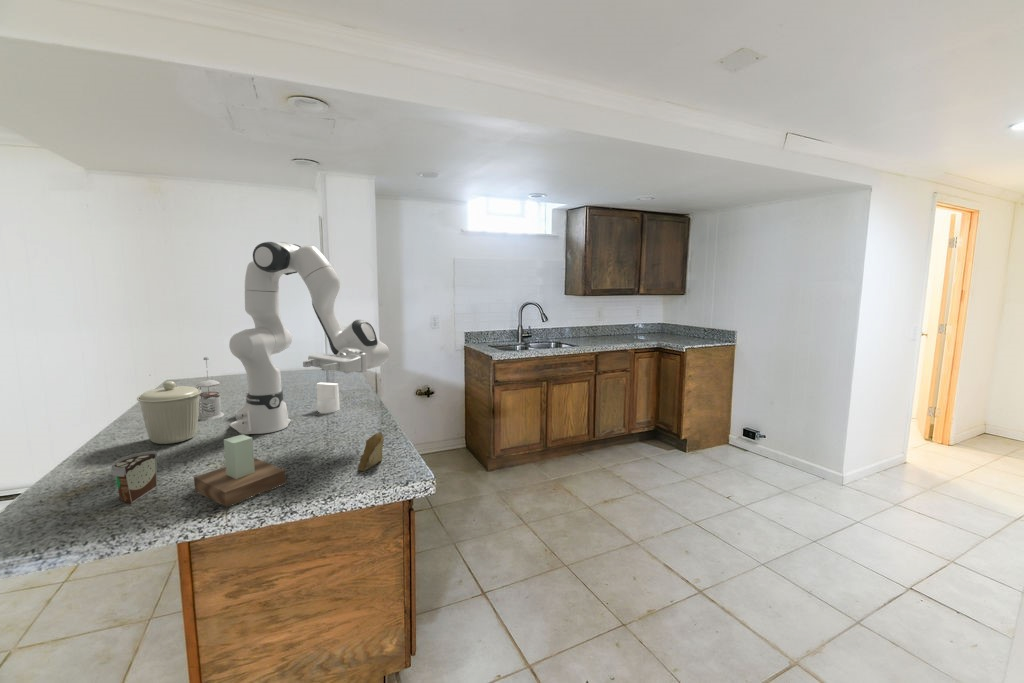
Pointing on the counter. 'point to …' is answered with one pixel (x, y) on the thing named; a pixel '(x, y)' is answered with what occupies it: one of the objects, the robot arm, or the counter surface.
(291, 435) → the counter surface
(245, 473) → the sage block
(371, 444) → the rock
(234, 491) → the walnut base
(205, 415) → the french press
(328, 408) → the white tapered cylinder
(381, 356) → the robot arm
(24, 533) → the counter surface
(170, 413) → the canister
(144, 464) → the food container
